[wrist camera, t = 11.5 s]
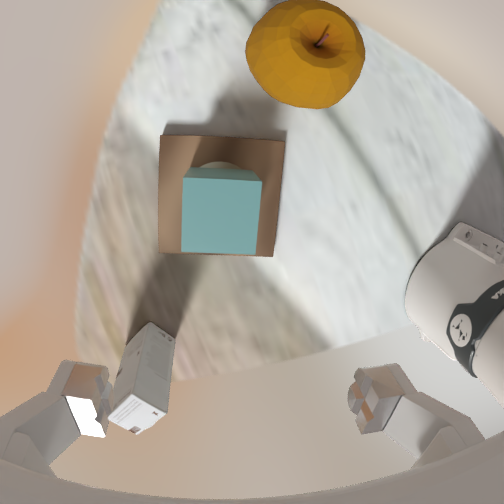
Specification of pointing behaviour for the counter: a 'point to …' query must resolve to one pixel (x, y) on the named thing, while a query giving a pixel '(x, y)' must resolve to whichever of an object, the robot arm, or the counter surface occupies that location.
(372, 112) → the counter surface
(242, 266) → the counter surface
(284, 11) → the apple
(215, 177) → the teal cube box
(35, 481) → the robot arm
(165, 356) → the skincare box
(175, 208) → the tan plate with disc
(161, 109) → the counter surface
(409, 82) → the counter surface
